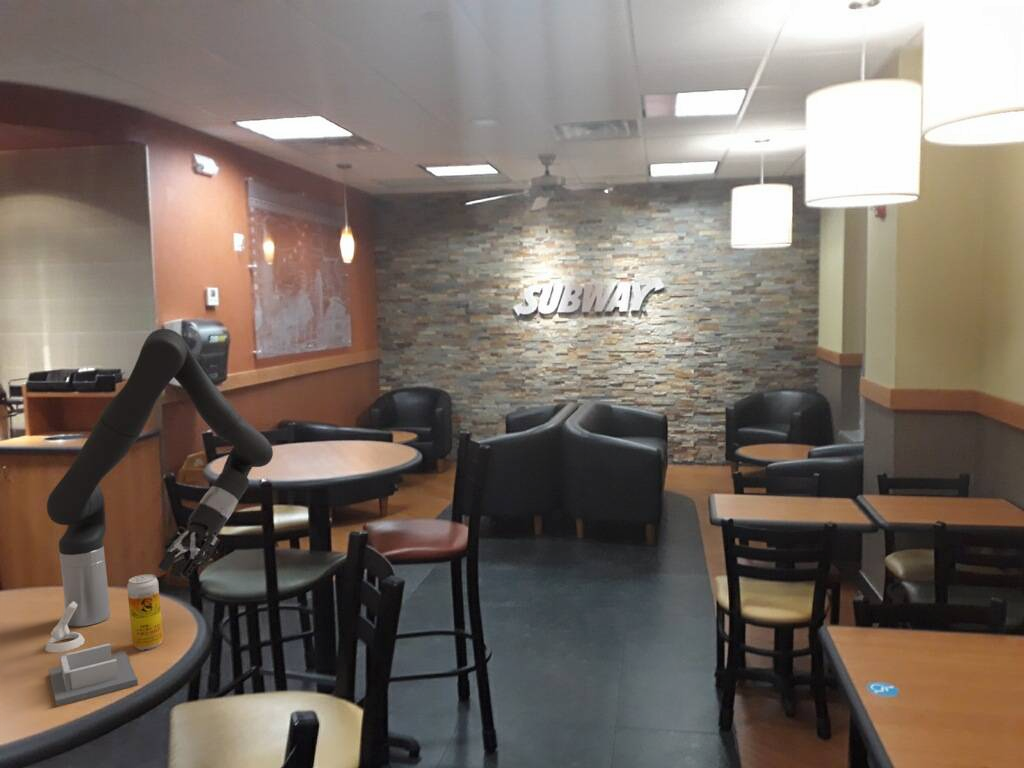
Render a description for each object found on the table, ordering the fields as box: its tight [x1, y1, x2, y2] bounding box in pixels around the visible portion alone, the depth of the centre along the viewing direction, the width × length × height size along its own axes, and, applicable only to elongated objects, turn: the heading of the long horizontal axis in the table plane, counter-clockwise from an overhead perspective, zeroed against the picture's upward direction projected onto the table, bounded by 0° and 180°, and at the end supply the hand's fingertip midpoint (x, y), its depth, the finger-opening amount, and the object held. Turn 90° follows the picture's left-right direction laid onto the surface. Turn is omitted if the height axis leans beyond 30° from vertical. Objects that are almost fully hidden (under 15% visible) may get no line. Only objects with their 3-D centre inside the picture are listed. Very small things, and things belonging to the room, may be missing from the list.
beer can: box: [126, 573, 164, 651], centre depth 178 cm, size 6×6×15 cm
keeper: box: [48, 643, 139, 708], centre depth 163 cm, size 16×14×5 cm
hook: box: [44, 601, 86, 653], centre depth 180 cm, size 8×12×7 cm
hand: (172, 573), depth 183 cm, fingers open, 8 cm apart
